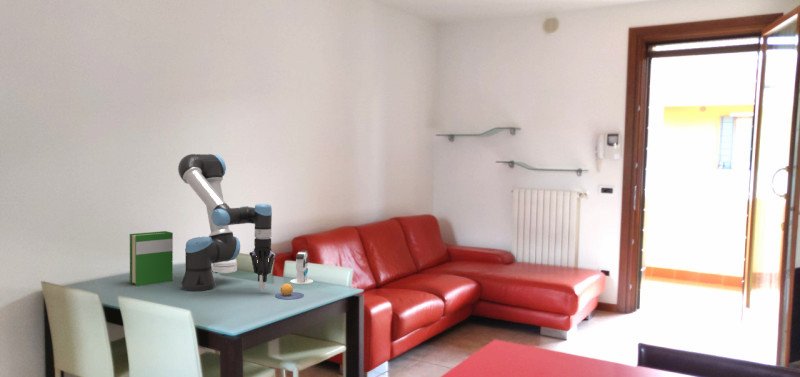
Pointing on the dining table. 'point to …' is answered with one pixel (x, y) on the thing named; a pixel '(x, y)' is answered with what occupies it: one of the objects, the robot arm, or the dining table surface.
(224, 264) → the honey pot
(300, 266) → the white stand device
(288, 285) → the ball
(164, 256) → the hardback book
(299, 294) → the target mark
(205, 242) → the robot arm
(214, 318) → the dining table surface
